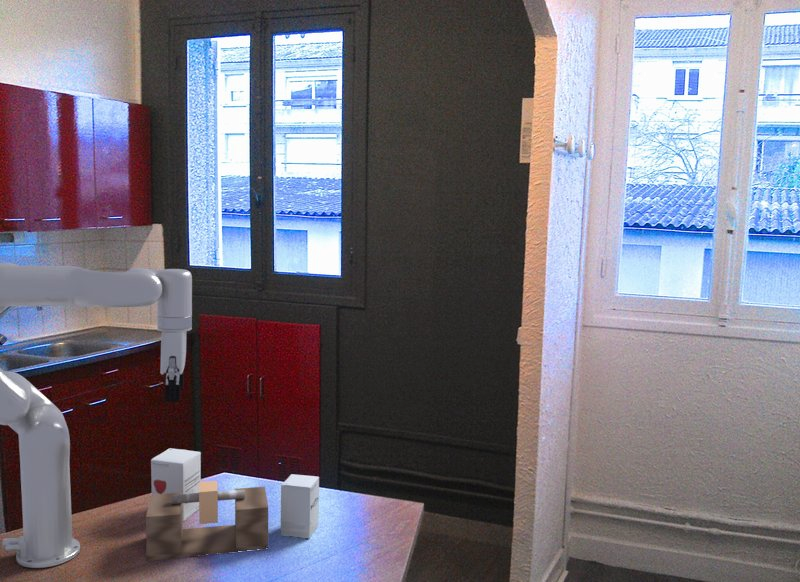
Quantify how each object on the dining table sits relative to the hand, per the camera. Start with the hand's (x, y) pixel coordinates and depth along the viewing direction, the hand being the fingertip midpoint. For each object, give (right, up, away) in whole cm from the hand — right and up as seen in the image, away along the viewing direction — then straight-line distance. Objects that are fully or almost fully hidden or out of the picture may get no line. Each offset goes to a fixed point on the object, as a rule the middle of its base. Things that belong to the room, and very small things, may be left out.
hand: (174, 395), depth 169 cm
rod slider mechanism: (+8, -33, -2) cm, 35 cm away
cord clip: (+9, -27, -3) cm, 29 cm away
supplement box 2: (+28, -33, +5) cm, 44 cm away
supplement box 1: (-4, -31, +14) cm, 34 cm away
